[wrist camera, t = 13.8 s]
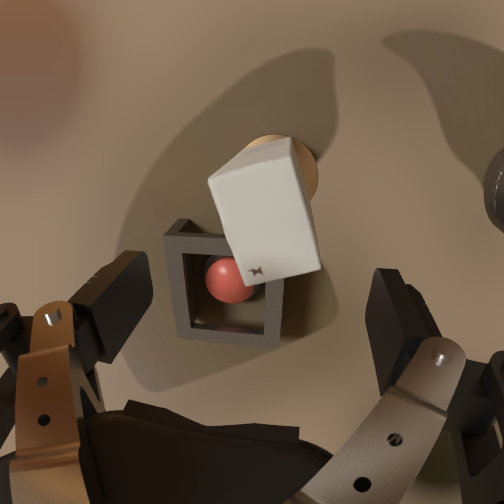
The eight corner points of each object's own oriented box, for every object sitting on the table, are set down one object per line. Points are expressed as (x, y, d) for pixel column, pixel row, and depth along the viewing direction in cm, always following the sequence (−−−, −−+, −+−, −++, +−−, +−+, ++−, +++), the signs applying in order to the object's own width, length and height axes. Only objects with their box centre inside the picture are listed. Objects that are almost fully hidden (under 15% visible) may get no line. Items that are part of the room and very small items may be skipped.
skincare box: (311, 202, 26) (324, 273, 15) (263, 214, 27) (243, 291, 16) (292, 133, 24) (293, 153, 13) (241, 147, 25) (202, 180, 14)
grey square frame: (287, 223, 28) (286, 241, 24) (281, 321, 33) (279, 347, 29) (178, 218, 29) (163, 235, 25) (189, 314, 34) (178, 337, 30)
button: (261, 250, 29) (260, 257, 28) (260, 301, 31) (259, 309, 30) (202, 247, 30) (198, 254, 28) (205, 297, 32) (202, 304, 31)
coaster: (319, 136, 24) (320, 137, 24) (314, 216, 27) (315, 218, 27) (234, 133, 25) (233, 134, 24) (235, 212, 28) (234, 214, 27)
